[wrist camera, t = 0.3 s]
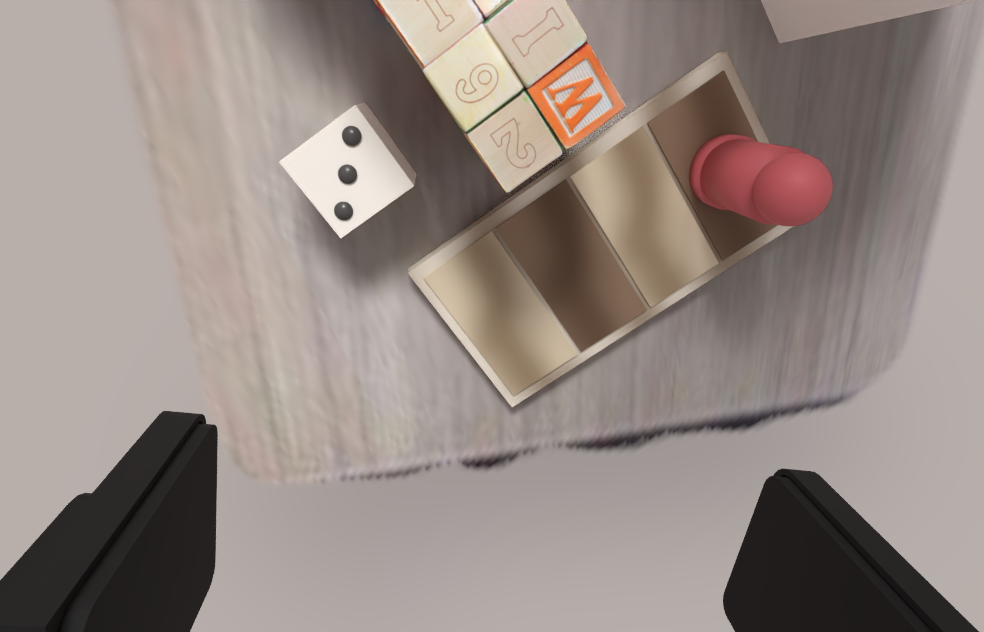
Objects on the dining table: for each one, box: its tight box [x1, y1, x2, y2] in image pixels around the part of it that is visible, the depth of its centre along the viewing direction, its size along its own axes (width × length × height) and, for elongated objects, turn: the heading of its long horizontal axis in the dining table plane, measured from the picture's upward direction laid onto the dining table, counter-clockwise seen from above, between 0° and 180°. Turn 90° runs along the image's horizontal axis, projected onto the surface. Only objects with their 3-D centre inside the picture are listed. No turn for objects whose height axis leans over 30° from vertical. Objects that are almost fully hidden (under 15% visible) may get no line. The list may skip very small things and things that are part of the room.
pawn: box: [689, 134, 833, 226], centre depth 33 cm, size 4×4×9 cm
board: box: [408, 52, 794, 407], centre depth 39 cm, size 23×12×1 cm, turn 124°
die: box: [279, 103, 417, 238], centre depth 34 cm, size 5×5×5 cm
